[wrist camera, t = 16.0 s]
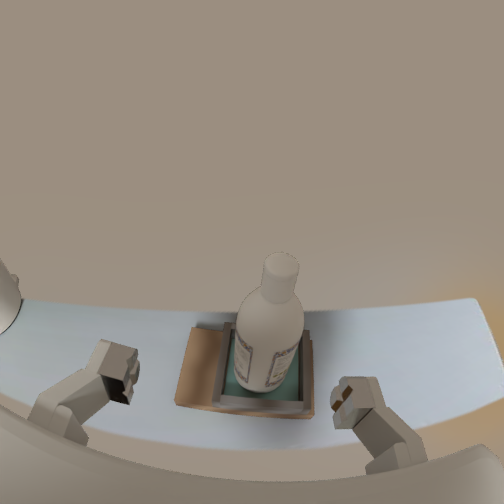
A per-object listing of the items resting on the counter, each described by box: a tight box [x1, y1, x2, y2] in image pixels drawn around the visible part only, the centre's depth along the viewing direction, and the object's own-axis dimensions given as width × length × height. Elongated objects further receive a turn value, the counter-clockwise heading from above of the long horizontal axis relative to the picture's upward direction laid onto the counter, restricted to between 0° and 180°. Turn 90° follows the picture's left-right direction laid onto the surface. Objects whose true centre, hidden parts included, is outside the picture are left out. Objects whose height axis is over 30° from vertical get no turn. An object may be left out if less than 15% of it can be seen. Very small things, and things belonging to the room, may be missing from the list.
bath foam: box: [234, 252, 304, 393], centre depth 30 cm, size 7×7×20 cm
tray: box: [174, 322, 314, 419], centre depth 37 cm, size 18×12×4 cm, turn 85°
